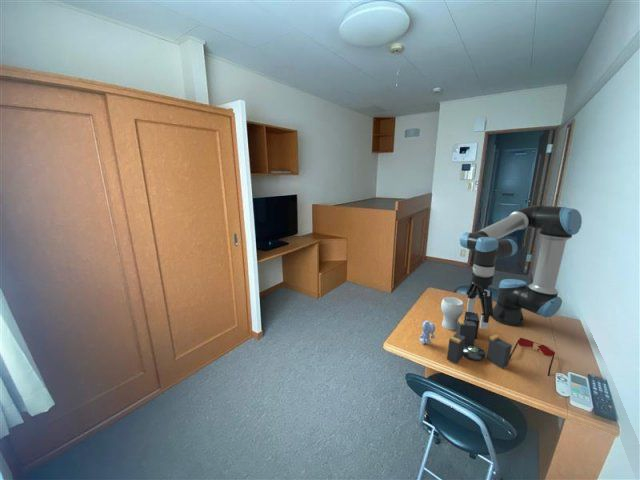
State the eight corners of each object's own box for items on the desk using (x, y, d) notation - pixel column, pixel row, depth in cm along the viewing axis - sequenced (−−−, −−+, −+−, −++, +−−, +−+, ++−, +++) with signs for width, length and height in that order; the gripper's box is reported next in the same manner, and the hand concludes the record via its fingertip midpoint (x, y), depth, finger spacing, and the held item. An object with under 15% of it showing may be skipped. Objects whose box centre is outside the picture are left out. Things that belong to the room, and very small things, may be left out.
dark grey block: (453, 352, 122) (456, 331, 119) (462, 356, 119) (465, 335, 117) (446, 359, 118) (449, 337, 115) (456, 363, 115) (459, 341, 112)
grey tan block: (470, 339, 131) (473, 319, 129) (473, 344, 127) (477, 324, 125) (455, 338, 132) (458, 318, 130) (458, 343, 129) (461, 323, 126)
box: (463, 328, 141) (465, 310, 138) (475, 331, 139) (478, 313, 136) (464, 336, 134) (466, 318, 132) (476, 339, 132) (479, 320, 129)
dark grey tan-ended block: (508, 365, 113) (512, 343, 111) (502, 368, 112) (506, 345, 109) (491, 356, 120) (495, 334, 117) (486, 358, 118) (489, 336, 115)
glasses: (554, 358, 119) (556, 348, 118) (549, 377, 108) (551, 366, 107) (516, 344, 129) (518, 335, 127) (508, 360, 118) (510, 350, 116)
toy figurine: (430, 338, 133) (432, 317, 130) (435, 346, 126) (437, 324, 124) (416, 338, 133) (418, 316, 130) (420, 346, 127) (422, 324, 124)
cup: (456, 321, 148) (459, 296, 144) (464, 332, 138) (467, 306, 134) (436, 320, 149) (439, 296, 145) (442, 331, 139) (445, 305, 135)
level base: (479, 348, 125) (480, 342, 124) (488, 362, 116) (489, 355, 115) (457, 346, 126) (458, 340, 125) (464, 360, 117) (465, 353, 116)
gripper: (461, 263, 124) (457, 305, 129) (487, 286, 100) (479, 335, 105) (479, 264, 123) (473, 306, 128) (508, 286, 99) (500, 337, 104)
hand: (476, 319), depth 116 cm, fingers open, 13 cm apart
